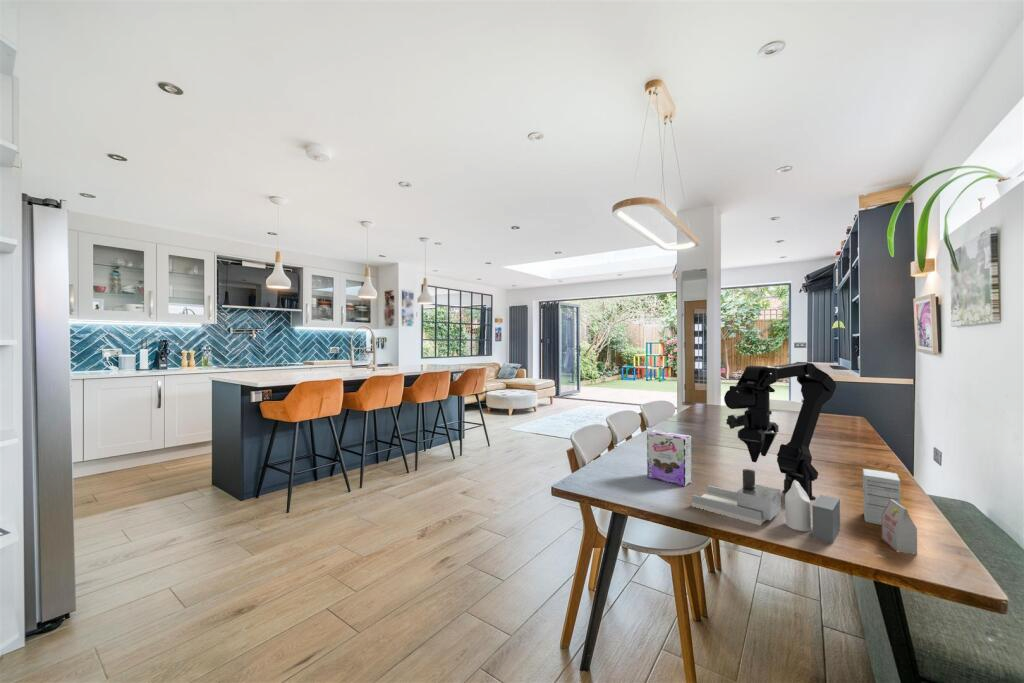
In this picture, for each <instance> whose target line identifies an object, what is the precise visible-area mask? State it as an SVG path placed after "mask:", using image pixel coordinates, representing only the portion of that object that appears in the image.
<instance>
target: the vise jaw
mask: <svg viewBox="0 0 1024 683" xmlns="http://www.w3.org/2000/svg"><path fill="white" fill-rule="evenodd" d="M736 492H737V506H739V507H743V508H747V509H751V510H755V511H758V512H762V518H763V519H767V521H772V519H773V518H774V517H775V516H776V515H777V514H778V513H779V512H780V511H781V508H782V507H781V501H782V499H781V498H782V497H781V489H778V488H773V487H768V486H763V485H759V484H756V471H755V470H753V469H747V468H746V469H742V487H741V488H739V490H738V491H736Z"/></svg>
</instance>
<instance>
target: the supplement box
mask: <svg viewBox="0 0 1024 683" xmlns="http://www.w3.org/2000/svg"><path fill="white" fill-rule="evenodd" d="M901 493H902V492H901V479H900V477H899V475H898V473H895V472H891V471H883V470H875V469H868V468H862V499H863V500H862V502H863V508H862V509H863V515H864V516H863V517H864V522H866V523H871V524H875V525H881V526H882V513H883V511H884V510H885V508H886V506H887V504H888V502H889V499H892V500H894V501H895V502H896V503H898V504H899V505H901V503H902V501H901V500H902V499H901V498H902V496H901ZM901 506H902V505H901Z"/></svg>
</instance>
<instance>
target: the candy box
mask: <svg viewBox="0 0 1024 683" xmlns="http://www.w3.org/2000/svg"><path fill="white" fill-rule="evenodd" d="M646 435H647V436H646V438H647V439H646V442H647V444H646V445H647V446H646V447H647V448H646V451H647V452H646V457H647V460H646V461H647V462H646V464H647V467H646V468H647V469H646V470H647V471H646V472H647V474H646V475H647V478H648V477H649V479H652V478H654V479H653V480H657V479H658V480H657V481H661V480H662V481H661V482H665V481H666V483H669V482H671V483H670V484H673V483H675V484H674V485H677V484H679V485H678V486H681V485H683V486H682V487H686V485H687V484H688V485H690V484H692V436H691V435H688V434H681V433H675V432H674V433H673V432H667V431H661V430H656V429H652V430H650V431H648V432H647V433H646ZM689 483H690V484H689ZM688 485H687V486H688Z"/></svg>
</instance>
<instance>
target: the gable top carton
mask: <svg viewBox="0 0 1024 683" xmlns="http://www.w3.org/2000/svg"><path fill="white" fill-rule="evenodd" d="M881 540H882V541H884V542H885V541H886V542H887V543H888V544H889V545H890V546H889V545H888V544H887V543H886V542H885V543H886V544H887V545H888V546H889V547H890V548H892V547H893V548H894V549H895V550H896V551H899V552H898V553H900V552H906V553H905V554H908V553H914V554H913V555H916V554H917V555H918V528H917V526H916V525H915V523H914V522H913V520H912V518H911V516H910V514H909V512H908V509H907V508H905V507H904V506H903V505H899V504H898V503H896V502H895V501H894V500H892V499H889V502H888V504H887V506H886V508H885V510H884V511H883V513H882V525H881ZM893 548H892V549H893ZM894 549H893V550H894ZM895 550H894V551H895ZM896 551H895V552H896Z"/></svg>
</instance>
